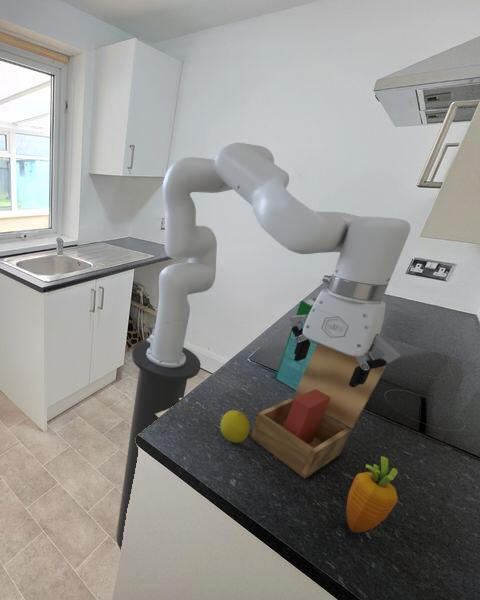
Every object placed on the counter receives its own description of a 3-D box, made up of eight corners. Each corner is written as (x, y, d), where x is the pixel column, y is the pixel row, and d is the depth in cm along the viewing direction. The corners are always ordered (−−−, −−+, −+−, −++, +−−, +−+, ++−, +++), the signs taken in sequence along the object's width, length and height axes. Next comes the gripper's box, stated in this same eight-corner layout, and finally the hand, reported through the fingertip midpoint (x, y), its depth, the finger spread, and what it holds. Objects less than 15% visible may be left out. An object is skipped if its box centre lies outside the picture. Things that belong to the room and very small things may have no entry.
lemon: (233, 430, 72) (242, 402, 69) (250, 449, 67) (259, 420, 64) (212, 432, 71) (219, 404, 68) (226, 452, 66) (235, 422, 63)
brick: (277, 444, 67) (293, 398, 63) (298, 432, 71) (315, 388, 67) (291, 454, 65) (309, 408, 61) (312, 441, 69) (331, 397, 64)
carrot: (365, 554, 48) (406, 485, 43) (328, 525, 52) (361, 458, 47) (376, 536, 51) (416, 469, 45) (340, 510, 55) (373, 445, 49)
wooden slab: (384, 366, 60) (386, 366, 60) (319, 340, 69) (320, 340, 70) (351, 428, 64) (353, 427, 64) (293, 395, 73) (295, 394, 74)
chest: (304, 478, 60) (315, 452, 58) (250, 437, 70) (258, 412, 68) (340, 454, 67) (351, 429, 64) (285, 419, 76) (294, 396, 74)
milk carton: (305, 396, 85) (337, 312, 76) (274, 378, 93) (300, 300, 84) (325, 389, 89) (358, 308, 80) (294, 372, 96) (320, 296, 87)
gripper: (293, 277, 61) (271, 354, 66) (412, 308, 46) (370, 403, 52) (314, 274, 64) (291, 347, 70) (431, 302, 50) (390, 391, 56)
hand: (325, 371), depth 61 cm, fingers open, 9 cm apart
